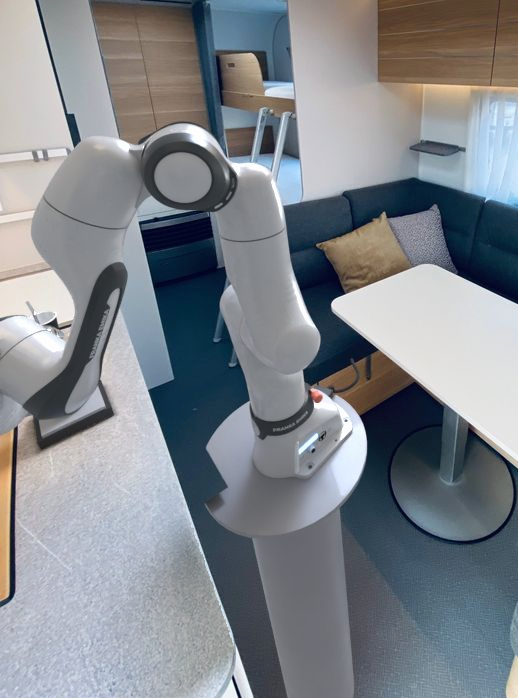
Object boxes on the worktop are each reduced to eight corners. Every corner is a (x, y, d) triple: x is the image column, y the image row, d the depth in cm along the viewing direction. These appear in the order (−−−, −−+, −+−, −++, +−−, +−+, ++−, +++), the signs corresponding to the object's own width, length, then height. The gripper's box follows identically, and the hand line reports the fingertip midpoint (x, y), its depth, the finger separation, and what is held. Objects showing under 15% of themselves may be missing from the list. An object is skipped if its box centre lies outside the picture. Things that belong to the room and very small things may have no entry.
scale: (103, 386, 105) (99, 377, 104) (114, 414, 97) (110, 404, 95) (35, 417, 96) (30, 407, 95) (40, 450, 88) (35, 439, 87)
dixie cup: (56, 339, 123) (44, 308, 119) (75, 344, 121) (63, 313, 116) (28, 356, 116) (14, 324, 112) (47, 362, 114) (33, 329, 110)
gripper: (68, 368, 70) (97, 375, 82) (-87, 406, 63) (-31, 407, 75) (70, 407, 68) (99, 407, 80) (-91, 450, 61) (-32, 444, 73)
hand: (35, 407), depth 78 cm, fingers open, 8 cm apart
